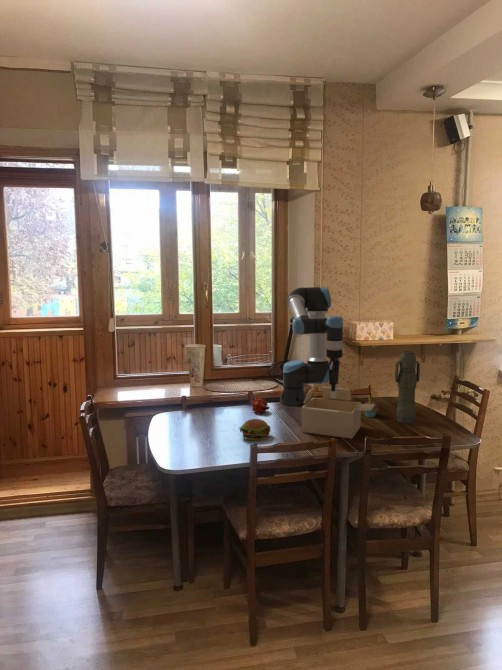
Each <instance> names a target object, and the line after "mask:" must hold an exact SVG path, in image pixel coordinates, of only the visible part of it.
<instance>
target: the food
mask: <svg viewBox="0 0 502 670" xmlns="http://www.w3.org/2000/svg"><path fill="white" fill-rule="evenodd" d="M238 428H239V432H240V433H242V437H243V438H244V439H246V440H248V441H253V442H254V441H255V442H256V441H257V442H258V441H263V440H266V439H268V437H269V435H270V433H271V426H270V425H269V424H268V423H267V422H266V421H265V420H264V419H260V418H252V419H248V420H246V421H245V422H244V423H243V424H242V425H241V426H239V427H238Z"/></svg>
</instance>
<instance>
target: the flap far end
mask: <svg viewBox="0 0 502 670" xmlns="http://www.w3.org/2000/svg"><path fill="white" fill-rule="evenodd" d="M374 406H375V404H364V403H361V405H360V406H359V407H358V409H357V411H361V412H362V411H363V412H365V411H371V410H372V409H373V407H374Z"/></svg>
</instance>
